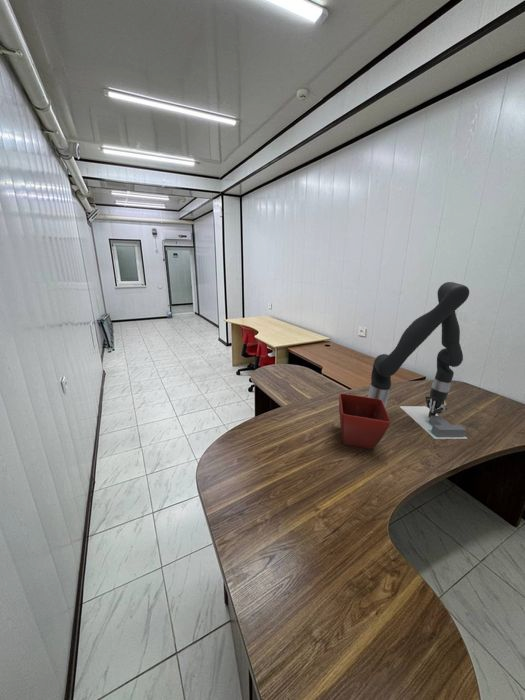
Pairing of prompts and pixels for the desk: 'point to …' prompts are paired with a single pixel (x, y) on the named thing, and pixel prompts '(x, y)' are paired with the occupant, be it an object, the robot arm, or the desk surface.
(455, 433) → the t block
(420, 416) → the runner mat
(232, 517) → the desk surface
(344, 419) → the plant pot
